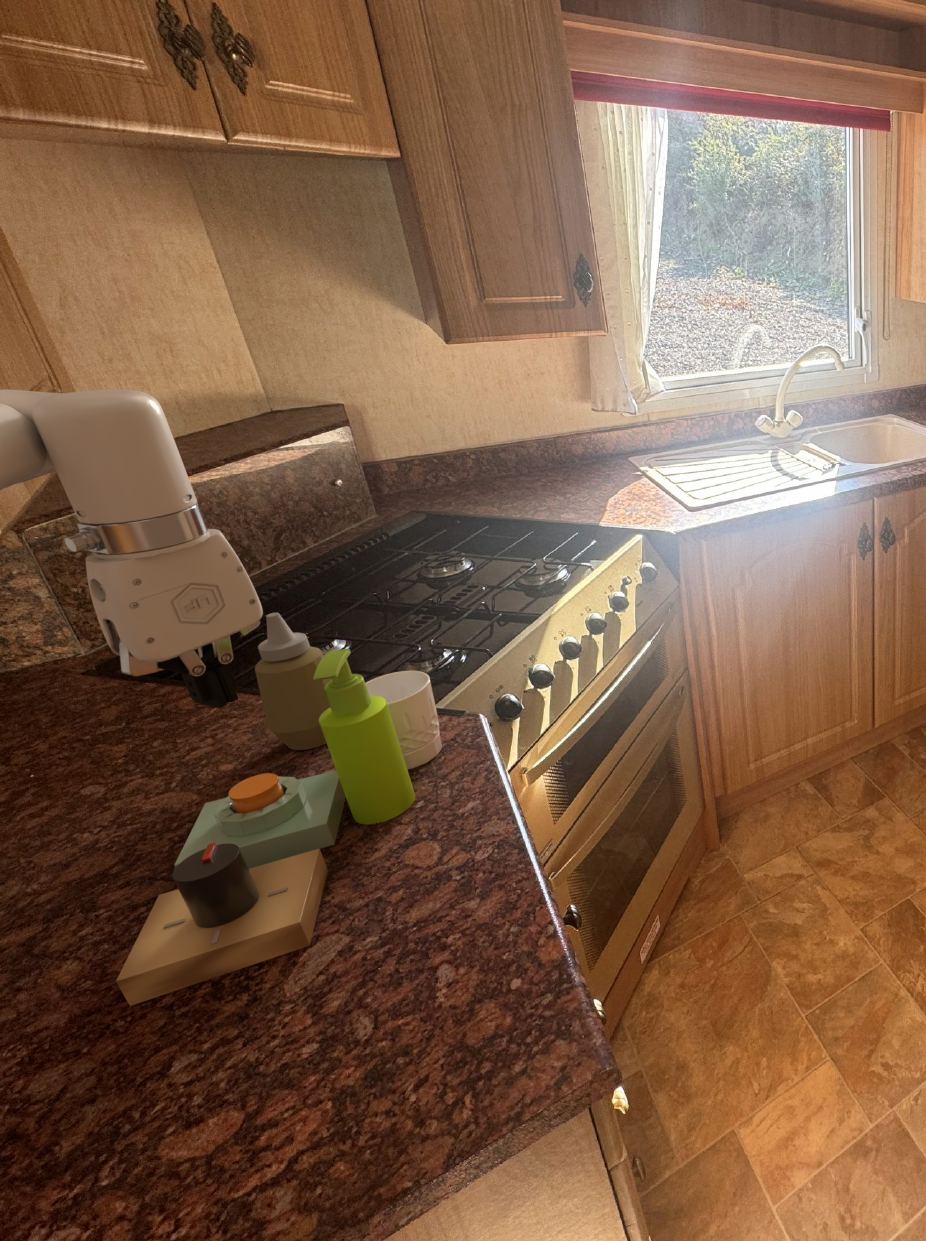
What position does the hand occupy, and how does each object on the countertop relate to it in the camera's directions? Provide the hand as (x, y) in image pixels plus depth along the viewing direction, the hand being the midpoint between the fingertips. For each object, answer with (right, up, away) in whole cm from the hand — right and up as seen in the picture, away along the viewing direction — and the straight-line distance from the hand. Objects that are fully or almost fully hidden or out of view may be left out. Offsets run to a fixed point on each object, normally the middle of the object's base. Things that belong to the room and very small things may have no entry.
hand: (218, 701), depth 72 cm
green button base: (0, -16, +6) cm, 17 cm away
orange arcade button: (0, -12, +5) cm, 12 cm away
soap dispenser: (+9, -15, +10) cm, 20 cm away
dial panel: (+7, -21, -5) cm, 22 cm away
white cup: (+6, -11, +19) cm, 23 cm away
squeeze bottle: (-9, -10, +22) cm, 26 cm away
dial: (+7, -18, -6) cm, 20 cm away
